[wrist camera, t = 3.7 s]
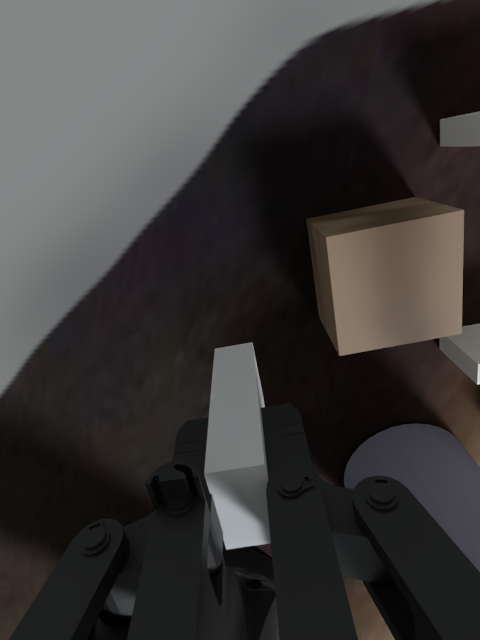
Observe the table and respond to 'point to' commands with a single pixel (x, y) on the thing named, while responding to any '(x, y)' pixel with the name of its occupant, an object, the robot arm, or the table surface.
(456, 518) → the lavender cylinder
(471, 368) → the white walled enclosure
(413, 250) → the block
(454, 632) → the robot arm
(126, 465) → the table surface
